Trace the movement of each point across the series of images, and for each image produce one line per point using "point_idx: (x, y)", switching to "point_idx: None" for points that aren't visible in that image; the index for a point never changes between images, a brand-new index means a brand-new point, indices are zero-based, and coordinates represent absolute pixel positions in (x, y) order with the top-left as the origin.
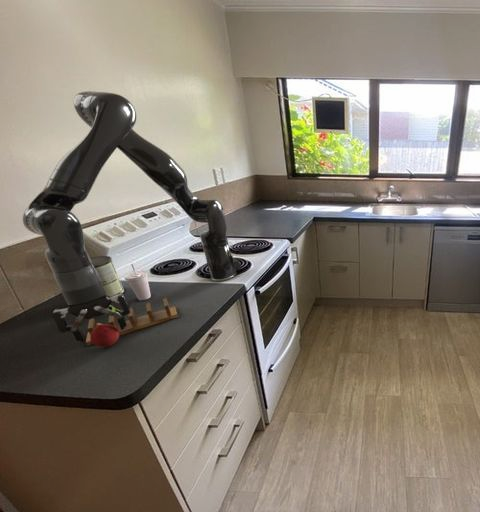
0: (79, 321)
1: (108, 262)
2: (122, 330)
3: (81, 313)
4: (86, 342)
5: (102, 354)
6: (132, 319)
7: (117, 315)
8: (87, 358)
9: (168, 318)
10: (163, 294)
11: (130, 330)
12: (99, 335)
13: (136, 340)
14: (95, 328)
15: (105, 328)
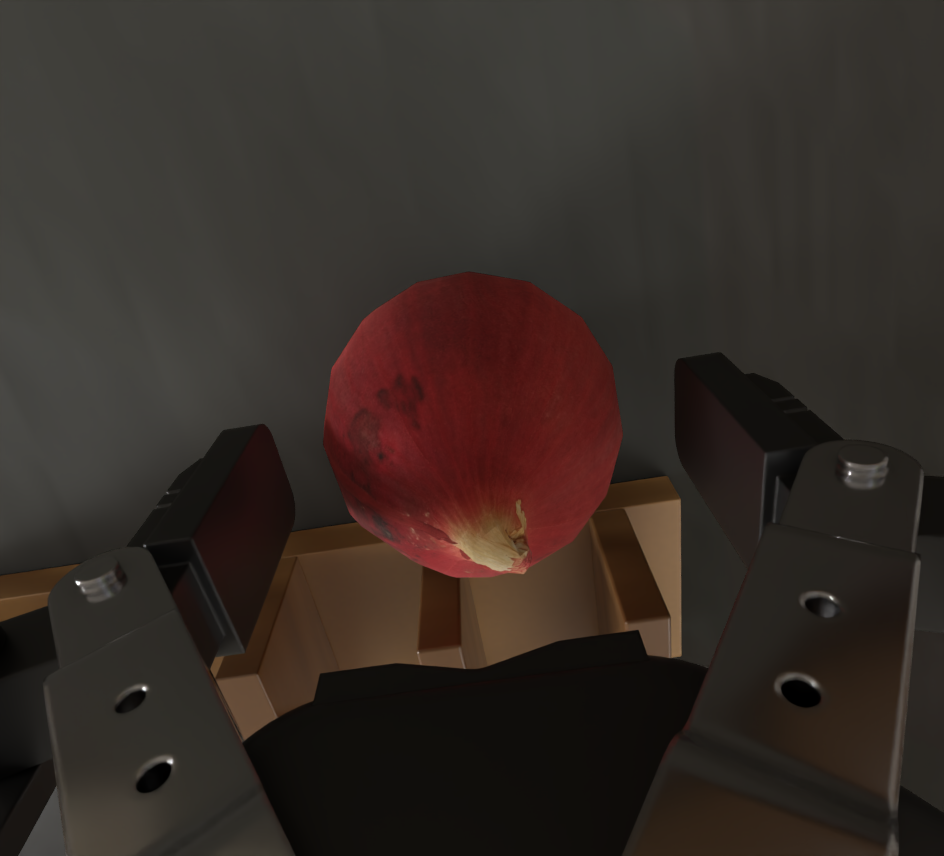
0: (805, 576)
1: None
2: (386, 551)
3: (816, 850)
4: (675, 496)
5: (509, 219)
6: None
7: (108, 606)
8: (643, 221)
9: (3, 586)
10: None
11: (326, 535)
12: (486, 341)
13: (219, 330)
14: (545, 496)
15: (404, 442)
